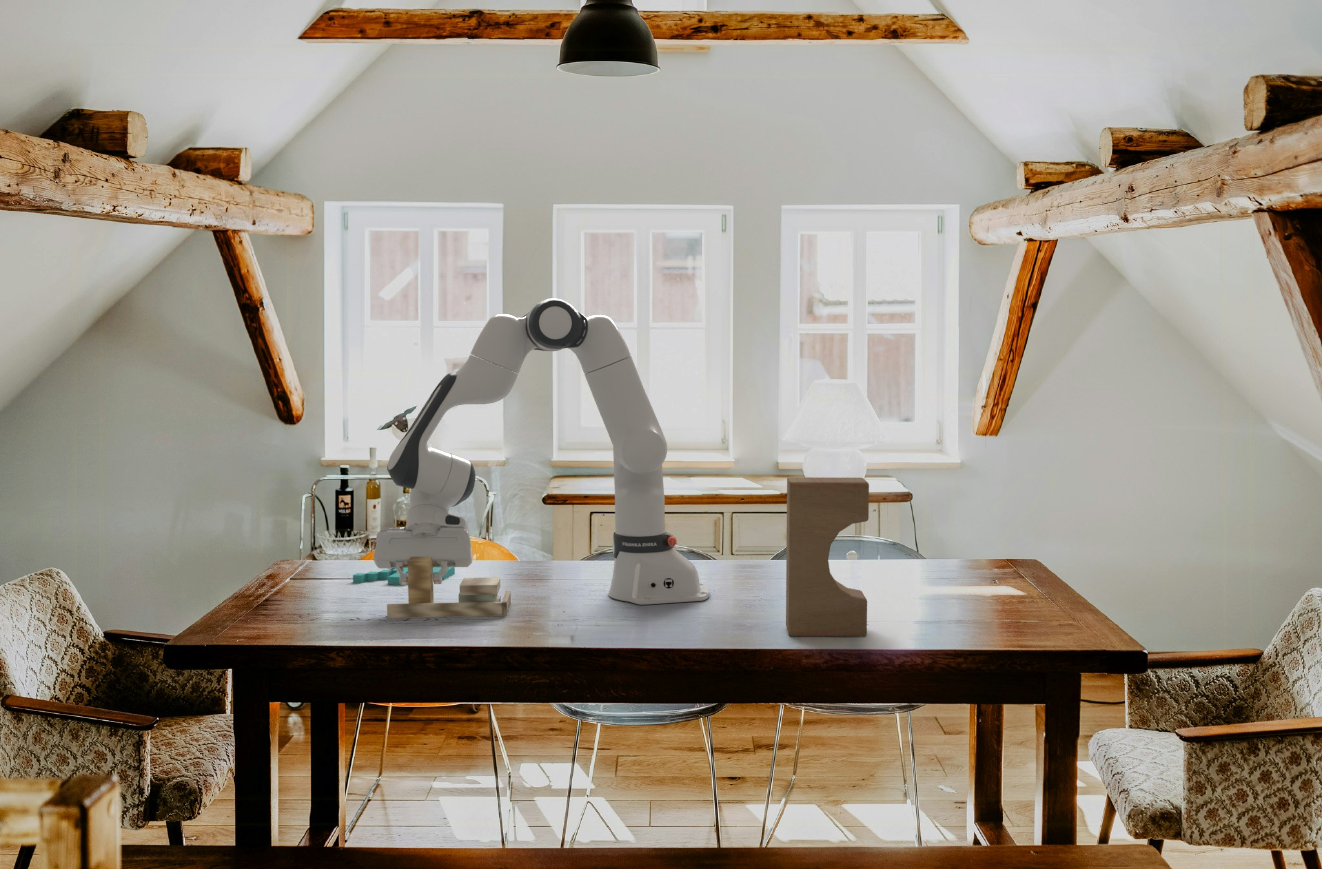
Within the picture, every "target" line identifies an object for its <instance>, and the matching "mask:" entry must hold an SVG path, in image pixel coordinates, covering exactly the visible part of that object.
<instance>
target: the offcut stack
mask: <svg viewBox="0 0 1322 869" xmlns="http://www.w3.org/2000/svg"><path fill="white" fill-rule="evenodd" d="M500 588H501V577H500V576H499V577H496V576H495V577H463V578H462V580H461V583H460V584H459V594H458V603H463V602H502V601H501V600H502V598H501V596H502V595H498V594H499V592H500Z"/></svg>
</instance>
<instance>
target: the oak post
mask: <svg viewBox="0 0 1322 869" xmlns="http://www.w3.org/2000/svg"><path fill="white" fill-rule="evenodd" d="M407 562H408V584H407V587H408V588H407V596H408V598H407V599H408V603H435V602H434V601H435V600H434V599H435V598H434V594H435V593H434V581H433V561H432V556H429V557H410V559H409V560H408V561H407Z"/></svg>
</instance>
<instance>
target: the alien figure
mask: <svg viewBox="0 0 1322 869" xmlns="http://www.w3.org/2000/svg"><path fill="white" fill-rule="evenodd" d="M455 568H456V567H449V568H448V572H447V573H446V574H445V575H444V577H442V581H445V580H446V579H448V578H450V577H451V576H453V575H455V570H456V569H455ZM440 569H441V567H434V568H433V579H434V573H438V572H439V571H440ZM403 574H407V575H408V568H404V571H403ZM449 576H450V577H449ZM399 578H400V576H399V574H398V572H397V569H396V568H391V569H382V570H379V571H371V570H370V571H369V572H366V573H364V572H362V573H360V572H356V573H354V574H353V575H352V582H353V583H354V584H356V583H357V584H358V583H361V584H362V583H364V582H365V583H366V582H375V581H379V580H387V585H395V586H396V585H398V586H401V585H400V582H399Z"/></svg>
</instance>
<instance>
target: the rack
mask: <svg viewBox="0 0 1322 869" xmlns="http://www.w3.org/2000/svg"><path fill="white" fill-rule="evenodd" d="M511 594H512V592H511V590H506V591H505V593H504V596H503V599H502V601H501V602H463V603H459V602H434V603H409V602H407V603H387V604H386V616H387V617H386V618H387V619H392V618H393V619H394V618H395V619H399V618H400V619H401V618H403V619H404V618H406V619H407V618H453V617H454V618H455V617H456V618H458V617H459V618H460V617H462V618H463V617H495V616H496V617H508V613H509V610H510V606H511V604H512V598H511V597H512V596H511Z"/></svg>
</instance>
